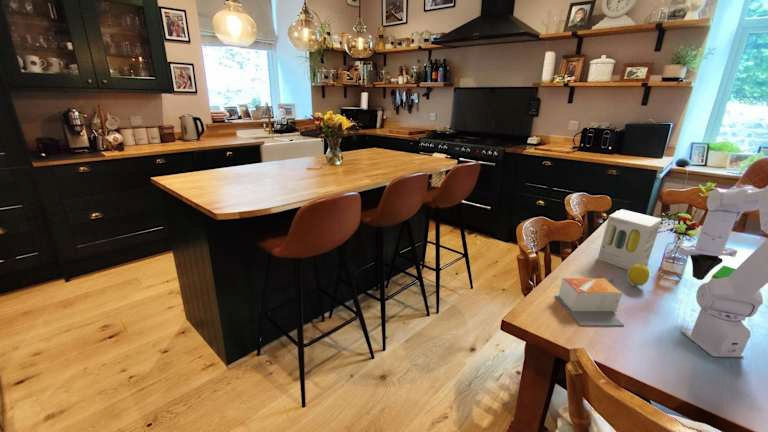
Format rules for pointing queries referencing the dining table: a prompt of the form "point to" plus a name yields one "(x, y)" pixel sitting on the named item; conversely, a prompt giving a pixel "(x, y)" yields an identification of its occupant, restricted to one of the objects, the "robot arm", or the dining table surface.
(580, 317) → the slate rubber mat
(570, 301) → the small box
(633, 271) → the lemon
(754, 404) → the dining table surface
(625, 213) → the supplement box
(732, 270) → the dish sponge
